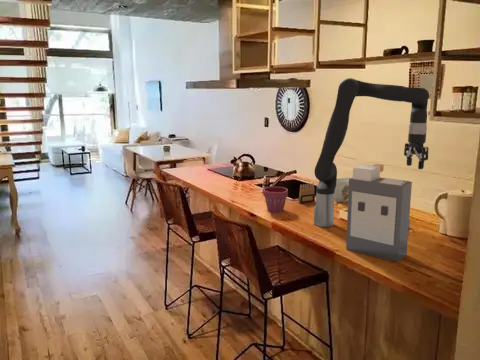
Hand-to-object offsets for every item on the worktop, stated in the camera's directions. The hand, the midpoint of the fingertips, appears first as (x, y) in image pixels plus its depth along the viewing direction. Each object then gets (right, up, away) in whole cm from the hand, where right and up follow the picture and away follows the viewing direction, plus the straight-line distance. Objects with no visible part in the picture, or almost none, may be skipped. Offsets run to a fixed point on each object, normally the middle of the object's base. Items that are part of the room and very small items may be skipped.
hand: (414, 167), depth 198 cm
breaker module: (-24, -4, -12) cm, 27 cm away
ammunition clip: (-40, -20, +66) cm, 80 cm away
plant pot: (-61, -24, +50) cm, 82 cm away
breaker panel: (-22, -37, -13) cm, 45 cm away
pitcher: (-19, -19, +67) cm, 72 cm away
